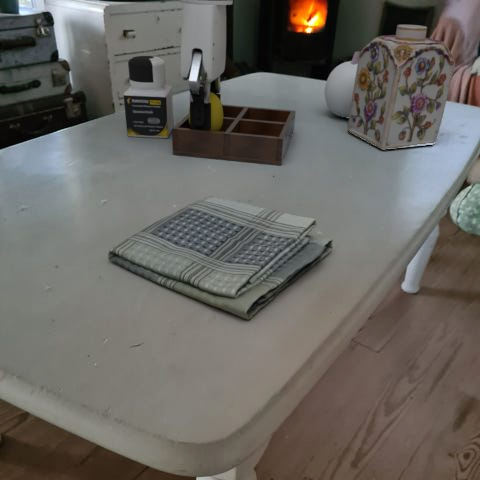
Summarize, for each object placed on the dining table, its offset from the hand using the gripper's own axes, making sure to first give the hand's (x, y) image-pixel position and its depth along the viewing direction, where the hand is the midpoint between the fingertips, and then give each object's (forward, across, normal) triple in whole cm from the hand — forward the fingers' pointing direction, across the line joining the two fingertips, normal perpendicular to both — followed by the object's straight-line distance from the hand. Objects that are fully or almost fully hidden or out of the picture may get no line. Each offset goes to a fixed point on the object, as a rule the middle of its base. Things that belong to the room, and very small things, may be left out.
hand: (205, 122), depth 83 cm
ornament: (+4, -28, +22) cm, 36 cm away
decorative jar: (+4, -15, +30) cm, 34 cm away
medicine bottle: (+4, -6, -12) cm, 14 cm away
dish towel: (+4, +35, +11) cm, 37 cm away
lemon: (+3, 0, 0) cm, 3 cm away
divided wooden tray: (+4, -4, +4) cm, 7 cm away
